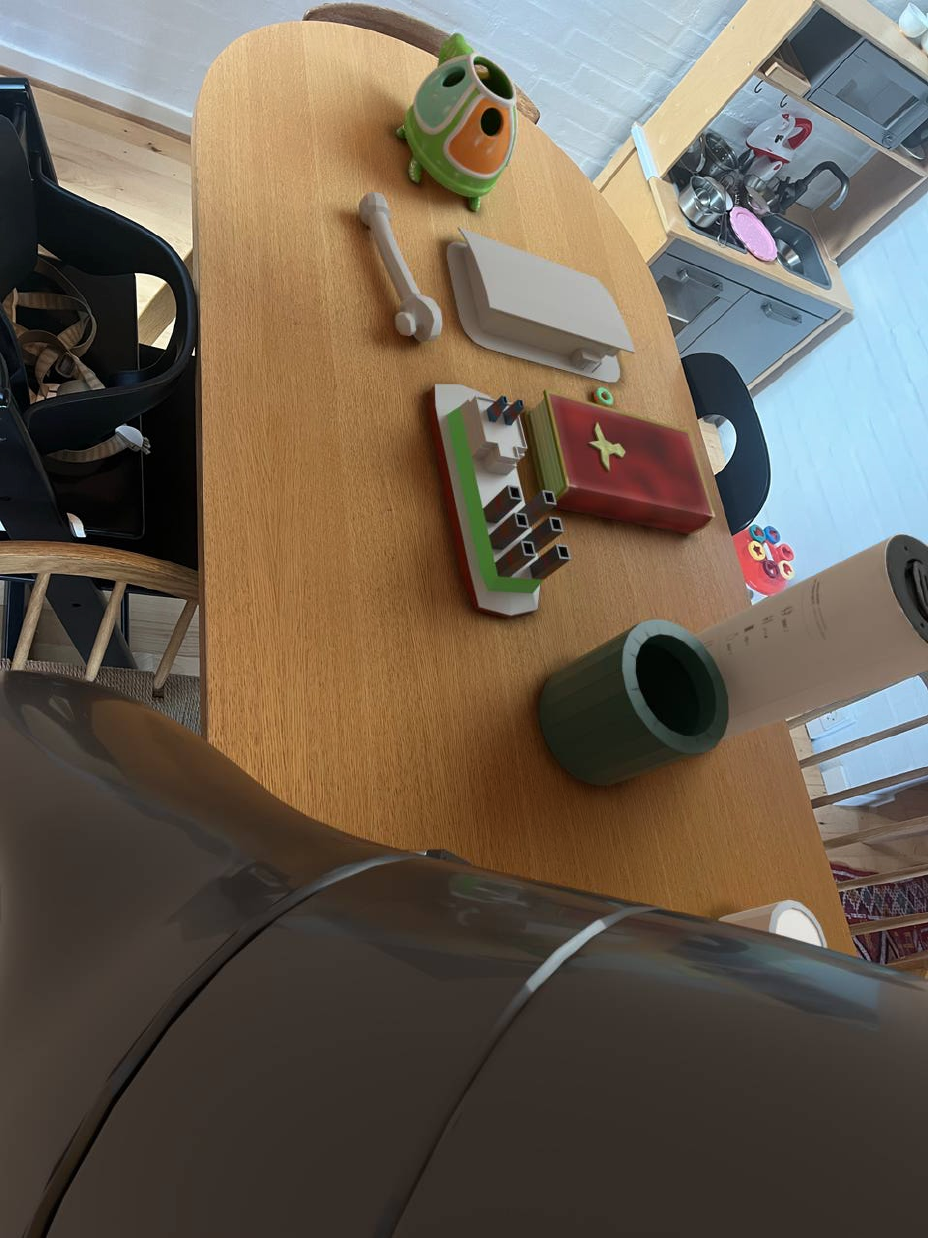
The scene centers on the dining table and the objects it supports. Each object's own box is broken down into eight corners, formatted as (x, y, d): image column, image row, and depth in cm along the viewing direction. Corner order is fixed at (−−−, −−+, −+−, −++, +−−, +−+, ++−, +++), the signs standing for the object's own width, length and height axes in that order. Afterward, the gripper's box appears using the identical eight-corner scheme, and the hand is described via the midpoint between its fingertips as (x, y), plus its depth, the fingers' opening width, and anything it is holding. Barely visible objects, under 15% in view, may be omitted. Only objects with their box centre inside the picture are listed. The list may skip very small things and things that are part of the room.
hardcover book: (690, 537, 88) (718, 519, 85) (543, 509, 78) (569, 487, 74) (665, 449, 93) (691, 429, 90) (523, 411, 82) (546, 387, 79)
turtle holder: (466, 122, 100) (517, 32, 90) (494, 226, 93) (552, 140, 84) (380, 84, 93) (425, -18, 84) (403, 193, 87) (455, 95, 78)
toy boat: (469, 617, 67) (520, 578, 61) (421, 383, 76) (461, 329, 70) (540, 619, 71) (594, 583, 65) (487, 398, 80) (530, 347, 74)
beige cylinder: (715, 769, 75) (990, 681, 55) (635, 720, 72) (893, 609, 52) (724, 680, 81) (974, 572, 61) (650, 632, 78) (886, 501, 58)
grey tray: (625, 387, 94) (647, 366, 91) (464, 342, 82) (483, 316, 79) (596, 290, 99) (616, 268, 96) (442, 235, 87) (459, 207, 84)
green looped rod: (658, 445, 93) (664, 441, 92) (591, 401, 89) (597, 396, 88) (659, 431, 94) (665, 426, 93) (593, 387, 90) (599, 382, 90)
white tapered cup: (759, 1005, 66) (829, 1005, 61) (700, 976, 64) (768, 973, 59) (763, 925, 70) (830, 918, 65) (708, 895, 68) (772, 886, 63)
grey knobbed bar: (435, 354, 79) (454, 329, 76) (391, 347, 76) (408, 320, 73) (394, 219, 84) (409, 191, 81) (351, 208, 81) (365, 178, 78)
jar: (649, 785, 70) (743, 754, 62) (550, 786, 64) (639, 752, 56) (624, 669, 74) (709, 626, 66) (530, 661, 69) (609, 611, 60)
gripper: (443, 1280, 23) (538, 1190, 37) (462, 805, 30) (536, 879, 43) (220, 1252, 25) (390, 1176, 39) (285, 811, 32) (410, 880, 45)
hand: (468, 1019), depth 41 cm, fingers open, 8 cm apart
